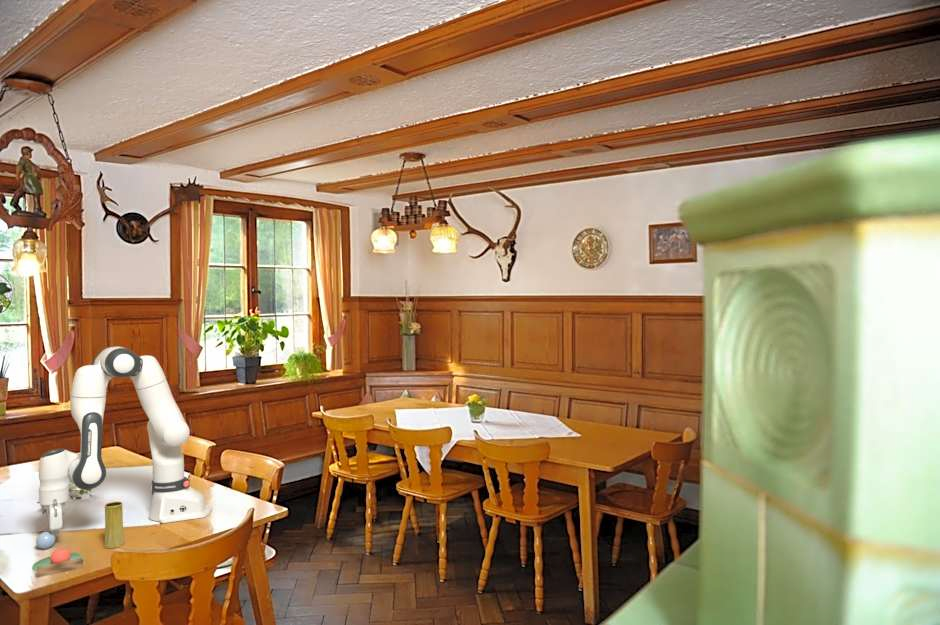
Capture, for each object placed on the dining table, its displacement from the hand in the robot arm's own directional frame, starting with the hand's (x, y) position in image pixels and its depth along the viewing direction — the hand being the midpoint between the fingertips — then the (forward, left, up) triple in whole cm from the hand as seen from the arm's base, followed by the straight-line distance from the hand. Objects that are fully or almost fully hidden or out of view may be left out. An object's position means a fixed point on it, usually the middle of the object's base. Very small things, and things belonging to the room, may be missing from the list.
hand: (54, 535), depth 224 cm
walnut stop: (-11, +29, -2) cm, 31 cm away
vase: (-21, +10, -2) cm, 24 cm away
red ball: (-10, +25, +1) cm, 27 cm away
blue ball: (0, +7, +1) cm, 7 cm away
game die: (+13, -34, -2) cm, 36 cm away
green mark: (-8, +21, -2) cm, 23 cm away
